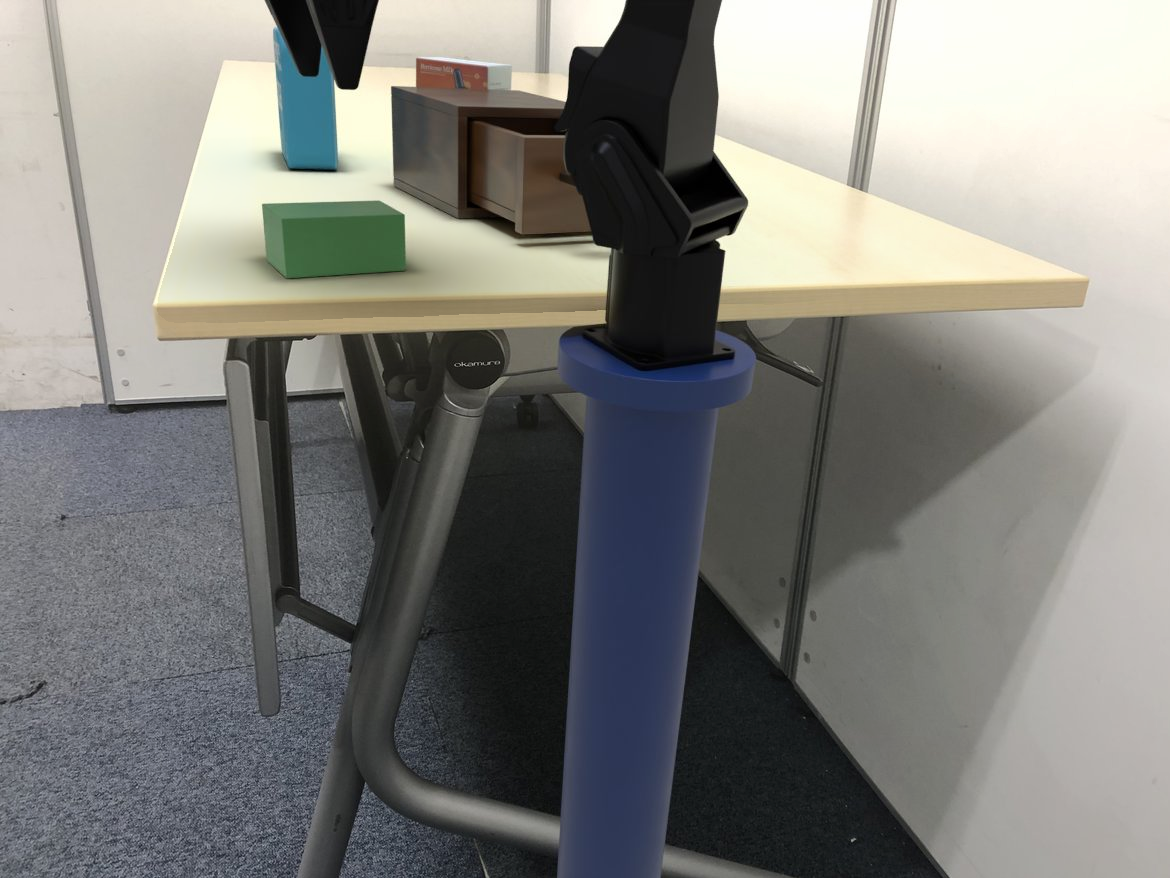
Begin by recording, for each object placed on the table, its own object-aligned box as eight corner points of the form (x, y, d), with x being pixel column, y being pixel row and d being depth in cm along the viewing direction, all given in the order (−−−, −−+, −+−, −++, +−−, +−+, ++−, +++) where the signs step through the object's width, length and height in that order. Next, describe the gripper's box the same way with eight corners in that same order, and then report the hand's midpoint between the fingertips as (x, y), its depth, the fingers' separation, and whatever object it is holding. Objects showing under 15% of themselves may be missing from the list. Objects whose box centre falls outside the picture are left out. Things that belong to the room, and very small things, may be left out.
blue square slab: (281, 152, 102) (272, 25, 97) (326, 153, 104) (319, 29, 99) (289, 171, 92) (279, 32, 87) (339, 172, 94) (332, 35, 89)
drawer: (681, 240, 75) (690, 146, 72) (549, 247, 69) (553, 146, 66) (567, 196, 88) (571, 115, 85) (448, 199, 82) (448, 113, 79)
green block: (406, 270, 63) (405, 214, 62) (286, 278, 59) (281, 218, 58) (381, 254, 67) (379, 200, 65) (266, 260, 63) (261, 203, 61)
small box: (414, 168, 100) (412, 56, 95) (441, 162, 104) (441, 55, 100) (486, 178, 98) (487, 64, 93) (510, 172, 102) (512, 63, 98)
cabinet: (591, 213, 86) (598, 109, 82) (457, 218, 79) (458, 106, 76) (516, 183, 97) (519, 90, 93) (393, 186, 90) (390, 85, 86)
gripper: (528, -228, 49) (519, 104, 56) (394, -190, 63) (400, 73, 69) (302, -278, 43) (323, 99, 50) (209, -224, 57) (235, 66, 64)
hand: (327, 82), depth 58 cm, fingers open, 7 cm apart
